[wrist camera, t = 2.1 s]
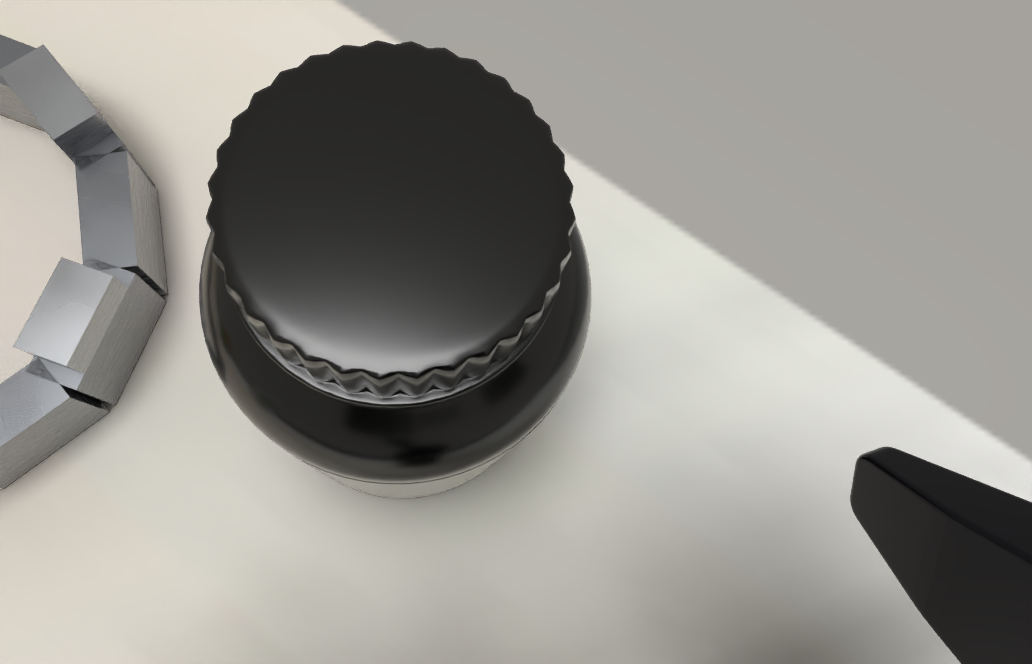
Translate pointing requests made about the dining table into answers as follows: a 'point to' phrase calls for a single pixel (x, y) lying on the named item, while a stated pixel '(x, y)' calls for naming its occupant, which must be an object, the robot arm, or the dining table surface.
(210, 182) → the supplement bottle
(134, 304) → the grey segmented ring
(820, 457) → the dining table surface
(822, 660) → the dining table surface
